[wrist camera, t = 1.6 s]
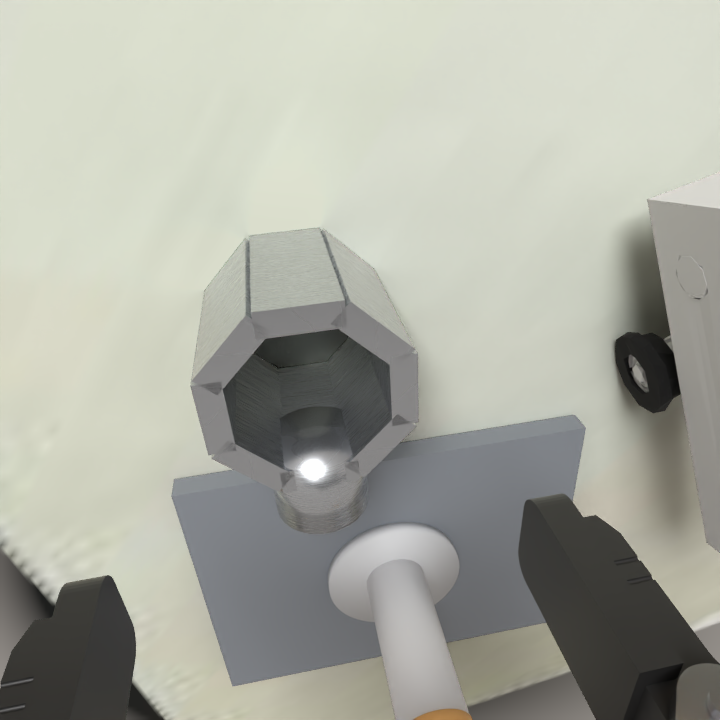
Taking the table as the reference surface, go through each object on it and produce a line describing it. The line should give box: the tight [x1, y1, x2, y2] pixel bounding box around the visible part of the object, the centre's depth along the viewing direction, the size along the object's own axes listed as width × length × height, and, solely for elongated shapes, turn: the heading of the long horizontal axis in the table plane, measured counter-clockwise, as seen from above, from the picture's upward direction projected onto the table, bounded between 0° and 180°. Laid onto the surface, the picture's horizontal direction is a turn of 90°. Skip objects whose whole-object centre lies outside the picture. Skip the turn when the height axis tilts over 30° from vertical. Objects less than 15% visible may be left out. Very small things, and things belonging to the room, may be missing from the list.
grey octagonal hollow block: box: [190, 228, 418, 534], centre depth 19 cm, size 6×8×6 cm
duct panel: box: [172, 415, 586, 720], centre depth 25 cm, size 18×14×9 cm
